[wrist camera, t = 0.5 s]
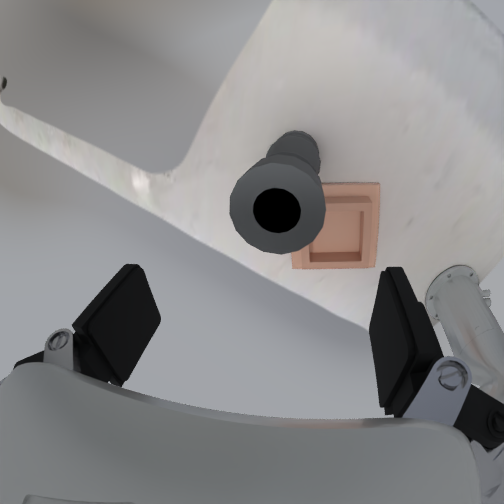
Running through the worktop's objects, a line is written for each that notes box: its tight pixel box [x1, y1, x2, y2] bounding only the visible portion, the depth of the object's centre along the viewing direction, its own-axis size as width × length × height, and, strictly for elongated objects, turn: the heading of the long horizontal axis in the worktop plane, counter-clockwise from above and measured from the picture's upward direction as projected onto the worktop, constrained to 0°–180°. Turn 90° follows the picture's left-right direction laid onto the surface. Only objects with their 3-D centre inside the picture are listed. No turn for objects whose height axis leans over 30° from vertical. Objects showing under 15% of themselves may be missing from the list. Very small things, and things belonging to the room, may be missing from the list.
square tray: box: [291, 183, 380, 269], centre depth 40 cm, size 14×14×4 cm
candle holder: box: [230, 131, 326, 254], centre depth 26 cm, size 6×6×25 cm
